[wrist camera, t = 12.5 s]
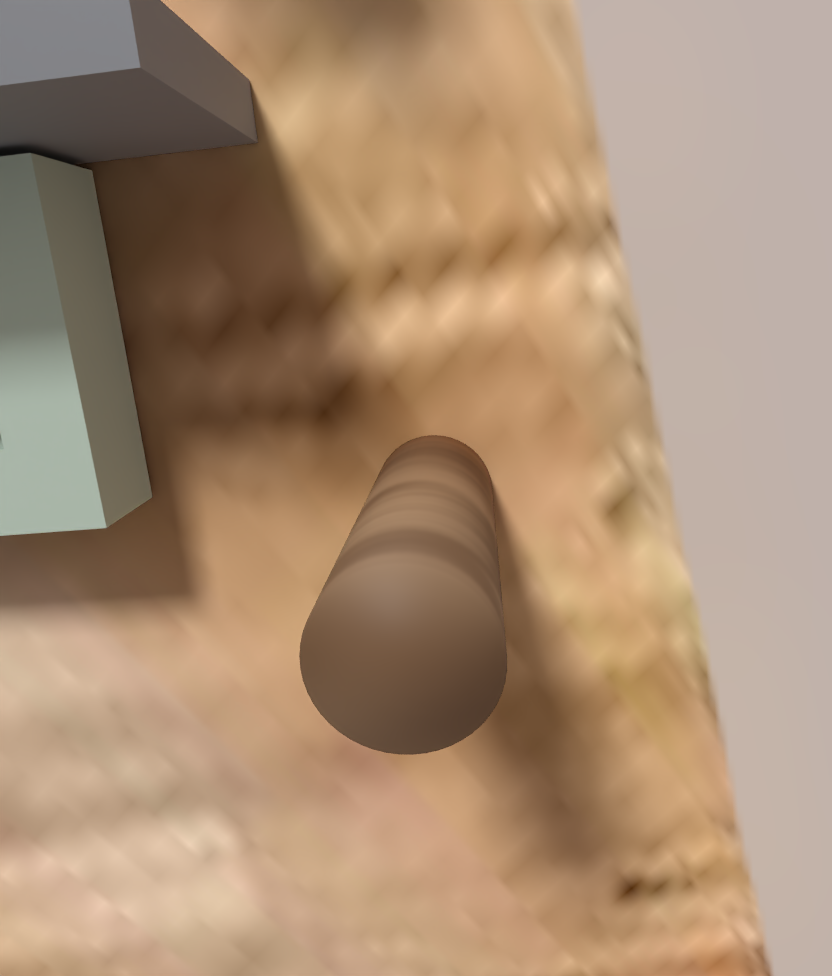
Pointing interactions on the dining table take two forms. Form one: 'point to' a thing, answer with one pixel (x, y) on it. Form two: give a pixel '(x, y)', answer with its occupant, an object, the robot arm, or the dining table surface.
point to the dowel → (413, 607)
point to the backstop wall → (114, 83)
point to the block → (61, 359)
